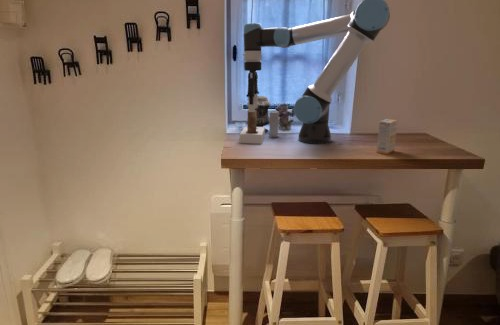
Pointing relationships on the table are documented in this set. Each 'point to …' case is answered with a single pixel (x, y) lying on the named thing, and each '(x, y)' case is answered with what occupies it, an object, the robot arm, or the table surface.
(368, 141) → the table surface
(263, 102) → the apothecary jar
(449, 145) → the table surface
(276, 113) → the square steel bar
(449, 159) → the table surface
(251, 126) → the walnut dowel
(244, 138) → the socket block
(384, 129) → the supplement box
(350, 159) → the table surface
